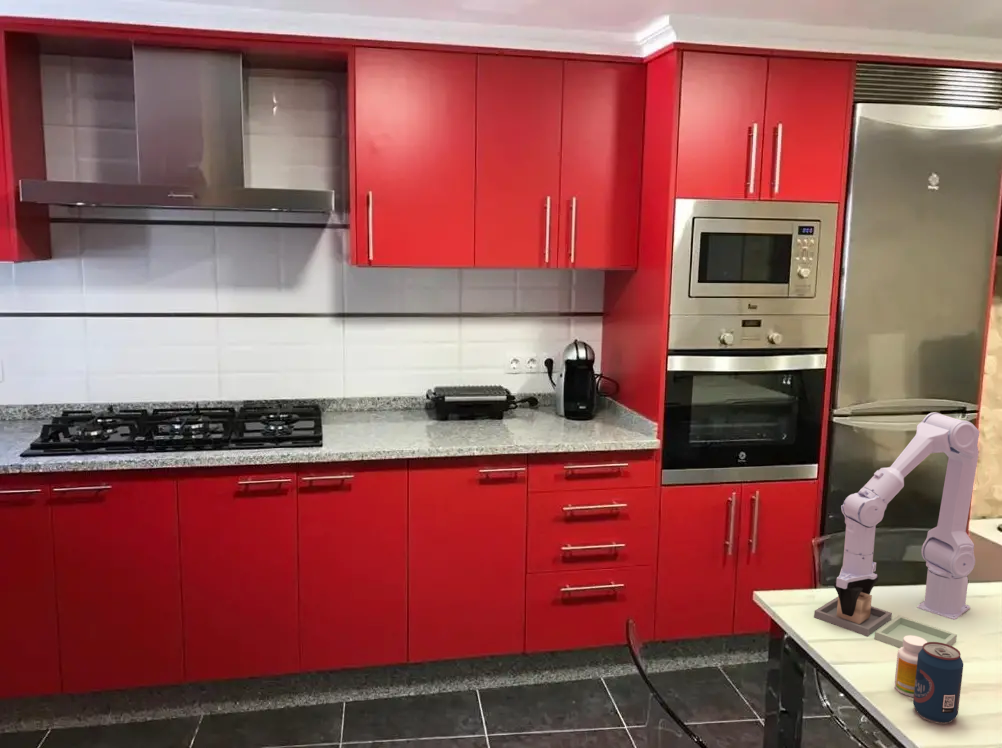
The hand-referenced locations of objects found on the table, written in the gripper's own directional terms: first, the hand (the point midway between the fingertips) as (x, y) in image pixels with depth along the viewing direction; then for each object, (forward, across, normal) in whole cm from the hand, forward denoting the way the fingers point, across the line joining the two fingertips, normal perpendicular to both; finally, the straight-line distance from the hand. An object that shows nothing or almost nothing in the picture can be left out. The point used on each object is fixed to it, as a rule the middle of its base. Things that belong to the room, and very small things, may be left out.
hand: (853, 610), depth 181 cm
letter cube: (+1, 0, 0) cm, 1 cm away
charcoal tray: (+2, 0, 0) cm, 2 cm away
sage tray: (+2, 0, -13) cm, 13 cm away
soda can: (+2, -25, -26) cm, 36 cm away
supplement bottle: (+2, -20, -20) cm, 28 cm away
